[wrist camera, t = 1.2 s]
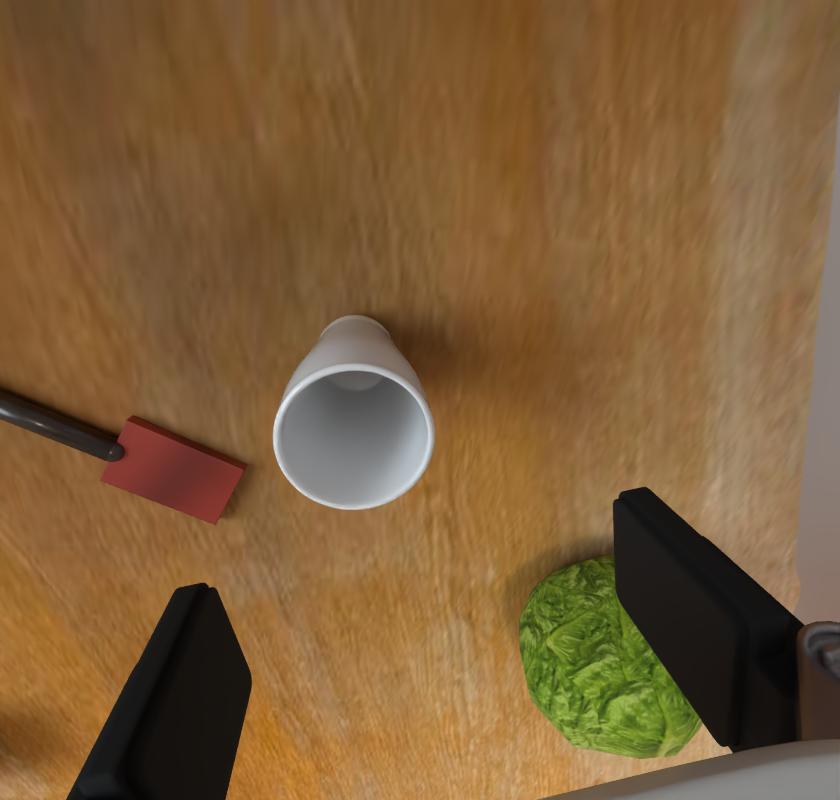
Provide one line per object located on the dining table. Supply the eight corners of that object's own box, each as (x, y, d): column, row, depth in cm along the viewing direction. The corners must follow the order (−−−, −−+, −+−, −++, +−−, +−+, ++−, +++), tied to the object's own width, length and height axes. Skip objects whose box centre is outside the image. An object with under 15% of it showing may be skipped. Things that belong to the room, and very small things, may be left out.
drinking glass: (413, 313, 33) (455, 378, 19) (393, 403, 35) (417, 522, 21) (314, 292, 32) (281, 346, 18) (300, 387, 34) (260, 502, 20)
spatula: (-82, 401, 31) (-105, 410, 29) (-61, 332, 30) (-83, 338, 28) (218, 518, 37) (213, 530, 35) (247, 464, 35) (242, 475, 34)
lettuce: (543, 806, 45) (723, 866, 38) (494, 685, 33) (745, 743, 26) (560, 658, 55) (704, 686, 49) (527, 524, 43) (714, 539, 37)
